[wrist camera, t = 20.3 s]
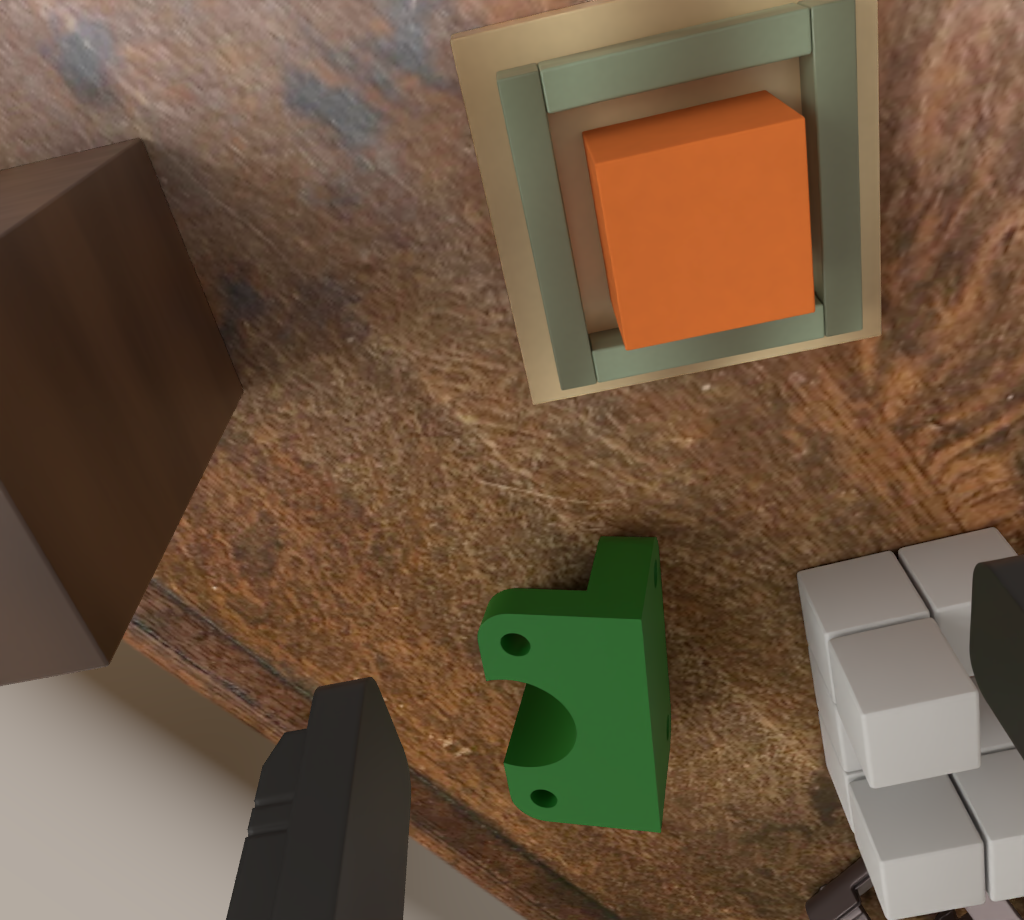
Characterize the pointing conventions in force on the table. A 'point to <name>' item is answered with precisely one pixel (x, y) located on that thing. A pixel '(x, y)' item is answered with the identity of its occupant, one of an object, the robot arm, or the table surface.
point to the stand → (95, 402)
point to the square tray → (646, 92)
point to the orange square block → (704, 218)
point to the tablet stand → (839, 901)
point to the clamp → (588, 691)
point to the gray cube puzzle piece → (915, 725)
